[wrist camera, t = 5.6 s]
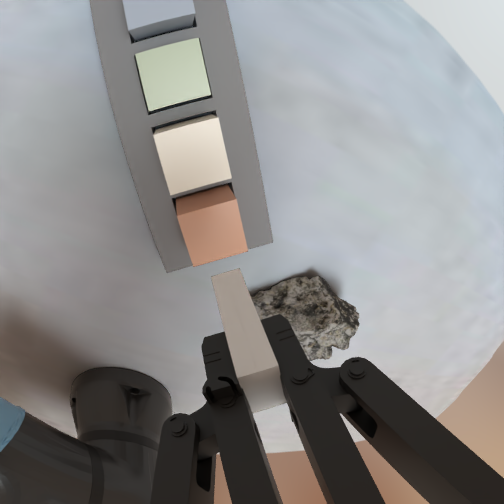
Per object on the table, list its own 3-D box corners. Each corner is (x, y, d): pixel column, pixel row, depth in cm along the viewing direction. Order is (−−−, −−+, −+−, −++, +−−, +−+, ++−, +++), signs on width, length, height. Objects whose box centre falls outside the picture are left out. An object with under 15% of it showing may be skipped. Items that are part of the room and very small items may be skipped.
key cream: (170, 180, 24) (170, 195, 21) (156, 129, 22) (153, 135, 18) (223, 165, 25) (231, 178, 21) (211, 114, 22) (218, 117, 19)
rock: (335, 239, 36) (318, 270, 27) (371, 307, 36) (364, 354, 28) (250, 283, 42) (214, 318, 34) (286, 340, 43) (260, 385, 34)
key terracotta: (190, 243, 27) (193, 266, 24) (176, 198, 25) (176, 216, 21) (237, 229, 28) (248, 251, 24) (227, 183, 25) (236, 199, 22)
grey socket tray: (166, 256, 30) (166, 272, 27) (96, -3, 16) (87, -13, 14) (264, 228, 31) (273, 242, 28) (210, -32, 17) (215, -45, 15)
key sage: (152, 109, 22) (148, 111, 19) (141, 60, 20) (135, 54, 16) (205, 95, 23) (211, 94, 19) (194, 46, 20) (198, 37, 17)
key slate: (135, 40, 18) (128, 30, 14) (126, -5, 16) (118, -22, 12) (192, 26, 18) (195, 13, 15) (182, -19, 16) (184, -38, 13)
